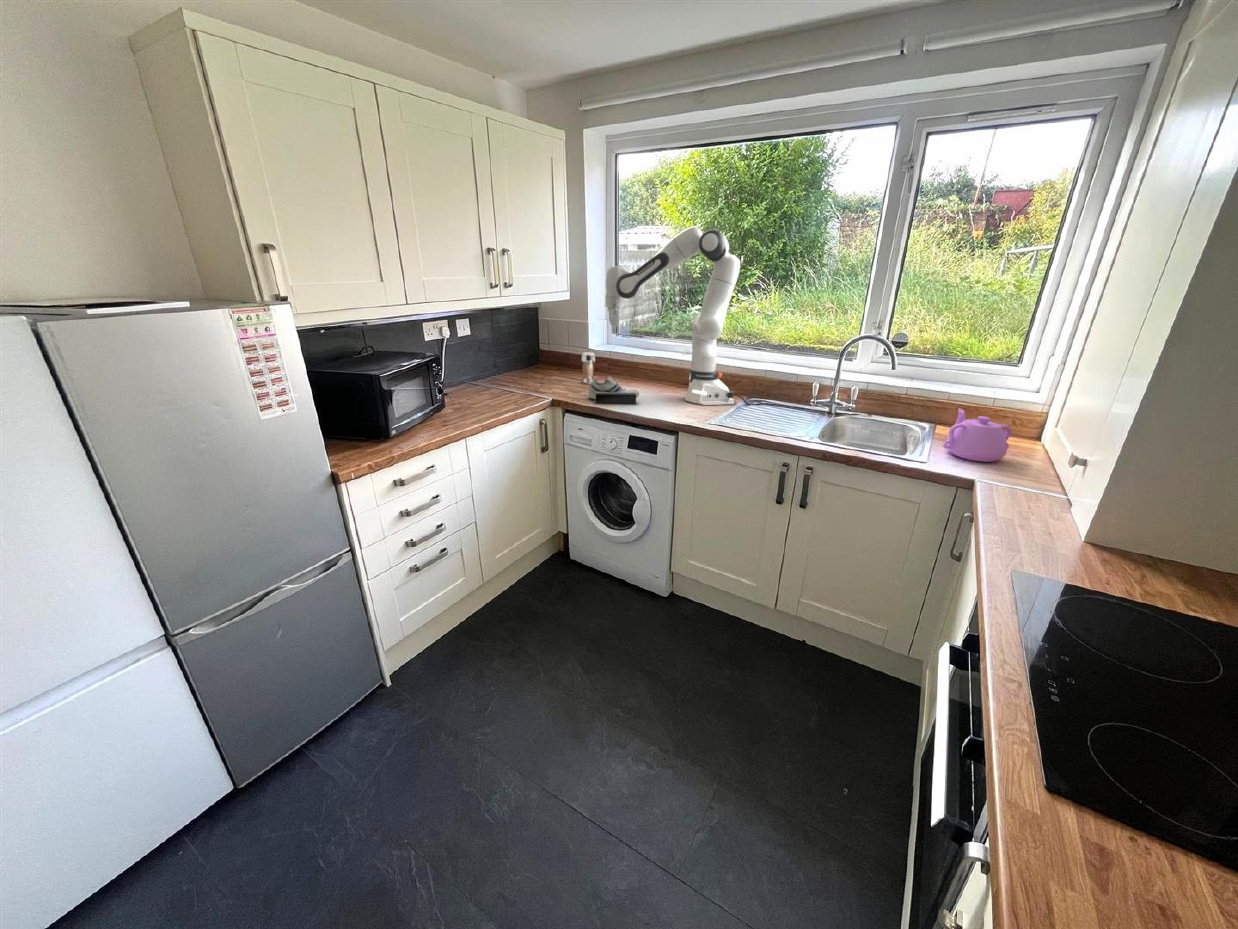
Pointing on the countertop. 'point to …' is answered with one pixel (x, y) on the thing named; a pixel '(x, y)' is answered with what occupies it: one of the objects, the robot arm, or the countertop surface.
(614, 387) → the athletic shoe
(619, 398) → the shoe rack
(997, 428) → the teapot
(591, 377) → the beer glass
